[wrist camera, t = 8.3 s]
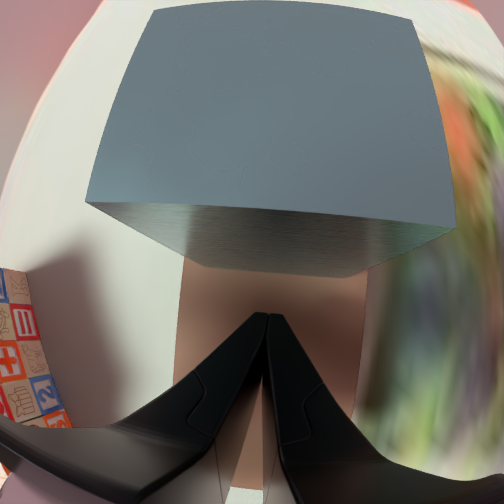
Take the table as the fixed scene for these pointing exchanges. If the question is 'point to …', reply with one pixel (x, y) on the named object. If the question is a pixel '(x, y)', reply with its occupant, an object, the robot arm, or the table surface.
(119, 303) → the table surface
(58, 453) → the robot arm
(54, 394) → the stack of blocks
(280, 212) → the grey rectangular block
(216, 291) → the beam
